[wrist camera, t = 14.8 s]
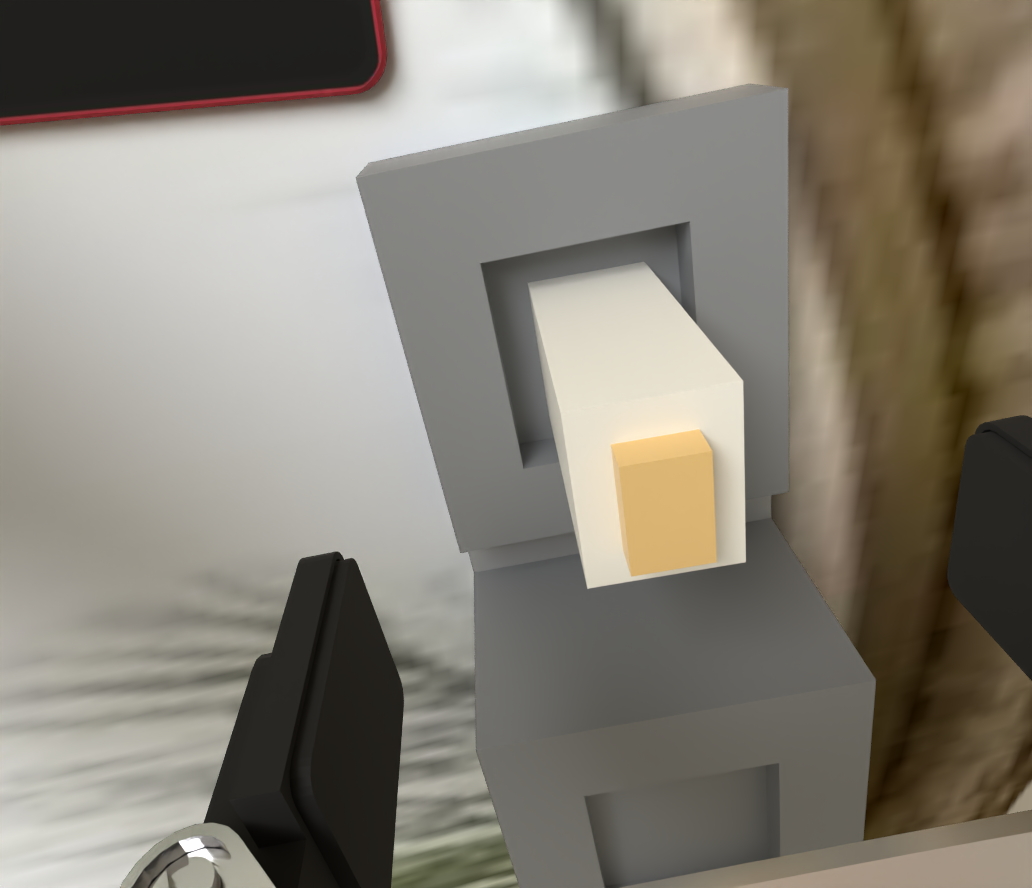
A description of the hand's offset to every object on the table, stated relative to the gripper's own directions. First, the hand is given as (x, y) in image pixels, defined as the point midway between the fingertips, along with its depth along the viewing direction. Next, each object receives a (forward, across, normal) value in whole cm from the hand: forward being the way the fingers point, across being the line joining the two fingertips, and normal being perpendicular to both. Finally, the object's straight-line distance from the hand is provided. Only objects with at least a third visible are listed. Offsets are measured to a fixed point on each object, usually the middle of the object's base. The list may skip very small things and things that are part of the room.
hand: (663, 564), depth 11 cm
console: (+12, -1, +7) cm, 13 cm away
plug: (+10, -1, 0) cm, 11 cm away
